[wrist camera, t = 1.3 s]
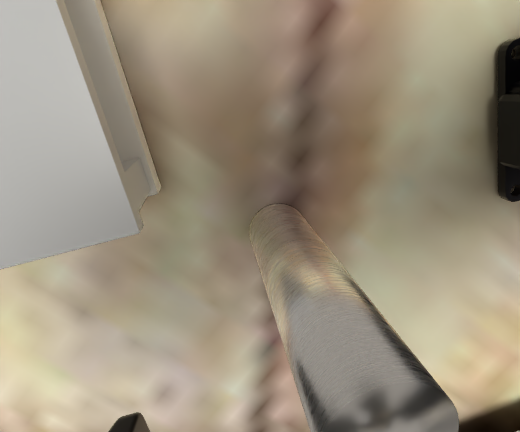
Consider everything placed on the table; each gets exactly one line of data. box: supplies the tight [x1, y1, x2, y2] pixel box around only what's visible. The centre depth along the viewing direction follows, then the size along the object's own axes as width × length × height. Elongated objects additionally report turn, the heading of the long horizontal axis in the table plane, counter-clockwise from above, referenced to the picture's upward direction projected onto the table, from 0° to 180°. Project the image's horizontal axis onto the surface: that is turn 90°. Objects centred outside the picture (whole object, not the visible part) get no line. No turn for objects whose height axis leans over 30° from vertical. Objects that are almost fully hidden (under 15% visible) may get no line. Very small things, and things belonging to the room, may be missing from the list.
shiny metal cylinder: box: [249, 204, 459, 432], centre depth 11 cm, size 2×2×10 cm
